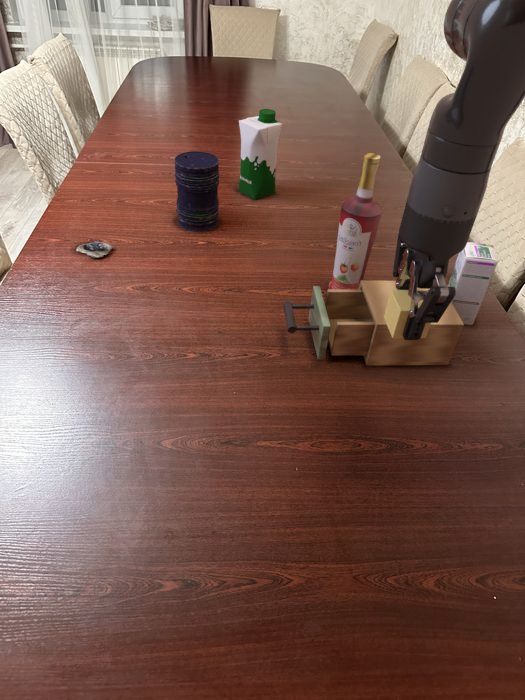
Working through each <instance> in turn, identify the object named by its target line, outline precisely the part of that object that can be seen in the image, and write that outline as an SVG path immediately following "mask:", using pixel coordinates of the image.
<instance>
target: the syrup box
mask: <svg viewBox="0 0 525 700" xmlns="http://www.w3.org/2000/svg"><path fill="white" fill-rule="evenodd" d="M498 263H499V260H498V258H497V254H496V251H495V248H494V245H491V244H487V243H481V242H473V241H471V242H470V241H467V244H466V246H465V248H464V249H463V250H462V251H461V252H459V253H457V258H456V260H455V263H454V266H453V269H452V272H451V275H450V277H449V281H448V284H447V287H455V290H456V294H455V297H454V298H453V300H452V301H451V303H452V304H453V306H454V308H455V310H456V311H457V313H458V315H459V317H460V318H461V320H462V322H463V324H464V325H466V326H467V325H469V326H473V325H474V324H475V320H476V318H477V316H478V314H479V311H480V308H481V307H482V306H481V305H482V303H483V301H484V298H485V296H486V293H487V291H488V288H489V285H490V283H491V280H492V278H493V275H494V273H495V270H496V267H497V265H498Z"/></svg>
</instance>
